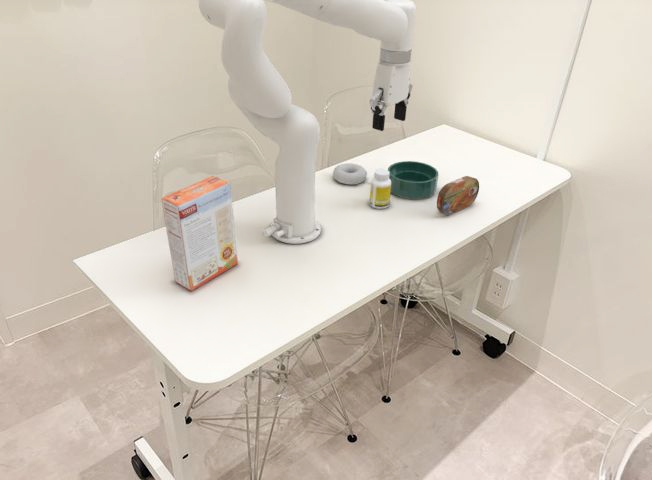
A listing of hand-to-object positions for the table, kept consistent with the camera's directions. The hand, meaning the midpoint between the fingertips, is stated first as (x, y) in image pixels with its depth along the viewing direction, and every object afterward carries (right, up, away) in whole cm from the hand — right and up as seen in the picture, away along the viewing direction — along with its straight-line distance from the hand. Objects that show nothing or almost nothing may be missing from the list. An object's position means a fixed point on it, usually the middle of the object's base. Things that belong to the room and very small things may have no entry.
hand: (388, 124), depth 150 cm
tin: (+19, -21, +9) cm, 30 cm away
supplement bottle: (-2, -20, +10) cm, 22 cm away
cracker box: (-43, -38, -19) cm, 61 cm away
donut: (-9, -11, +23) cm, 27 cm away
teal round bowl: (+8, -14, +18) cm, 24 cm away
